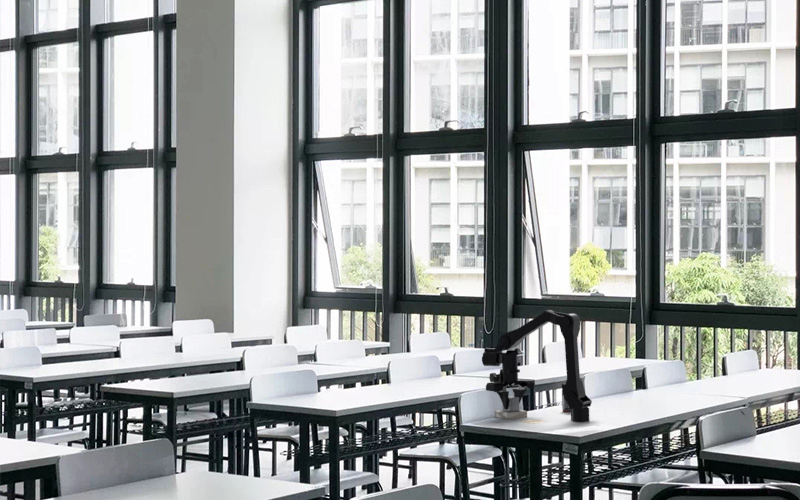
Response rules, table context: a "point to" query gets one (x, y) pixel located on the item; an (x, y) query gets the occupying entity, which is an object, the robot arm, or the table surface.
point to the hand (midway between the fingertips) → (510, 408)
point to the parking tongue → (533, 421)
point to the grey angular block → (512, 404)
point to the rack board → (510, 414)
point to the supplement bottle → (565, 405)
